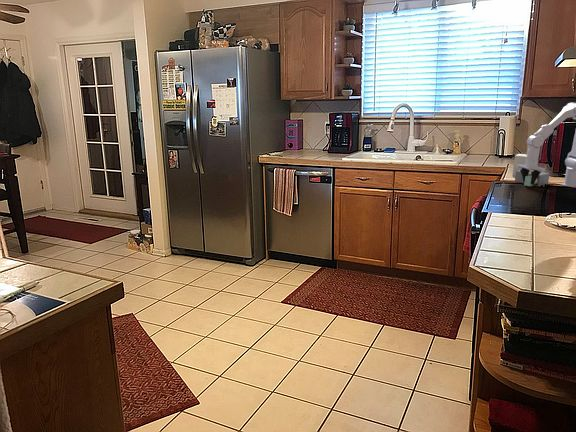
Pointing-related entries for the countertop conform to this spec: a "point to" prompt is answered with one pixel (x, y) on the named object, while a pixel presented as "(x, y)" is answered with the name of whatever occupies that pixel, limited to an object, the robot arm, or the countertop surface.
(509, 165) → the countertop surface
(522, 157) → the supplement box
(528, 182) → the cartridge
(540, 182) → the housing
